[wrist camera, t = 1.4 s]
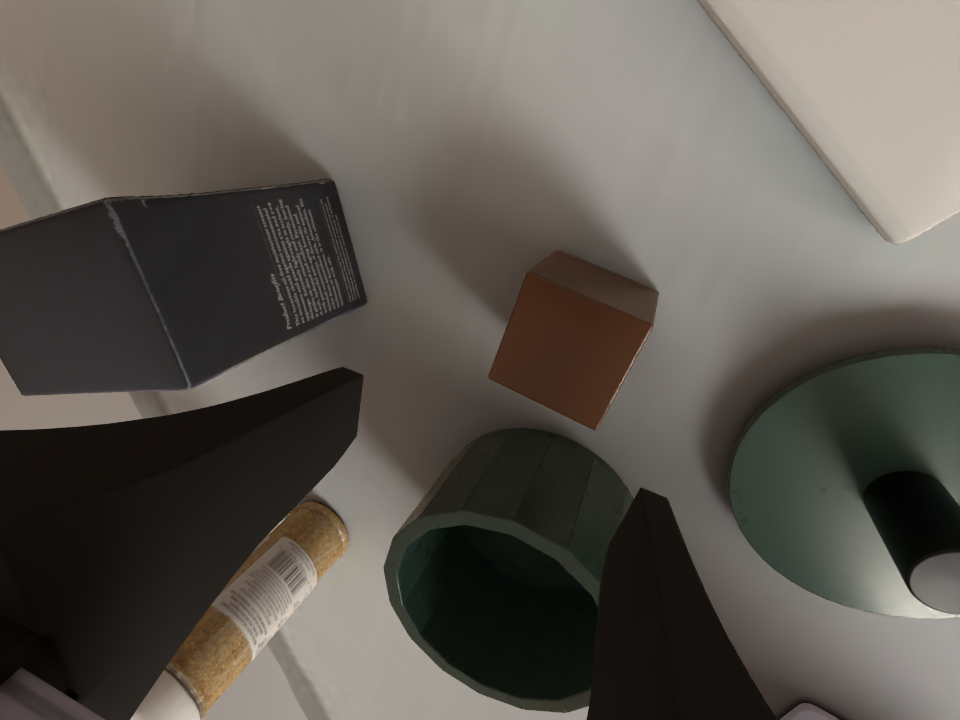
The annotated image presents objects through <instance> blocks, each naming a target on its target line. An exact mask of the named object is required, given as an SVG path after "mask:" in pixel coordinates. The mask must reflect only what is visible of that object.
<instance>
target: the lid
mask: <svg viewBox="0 0 960 720" xmlns="http://www.w3.org/2000/svg"><path fill="white" fill-rule="evenodd" d="M728 488H729V497H730V503H731V507H732V510H733V514H734V517H735V519H736V521H737V524H738V526H739V528H740V530H741V532H742V533H743V535H744V536H745V538H746V539H747V541H748V542H749V544H750V545H751V546H752V548H753V549H754V550H755V551H756V552H757V553H758V554H759V556H760V557H761V558H762V559H763V560H764V561H766V562H767V563H768V564H769V565H770V566H771V567H772V568H773V569H774V570H776V571H777V572H779V573H780V574H781V575H783V576H784V577H786V578H787V579H788V580H790V581H791V582H793V583H795V584H797V585H798V586H800V587H802V588H804V589H805V590H807V591H809V592H811V593H814V594H816V595H818V596H820V597H822V598H825V599H827V600H830V601H833V602H836V603H838V604H841V605H844V606H847V607H851V608H855V609H859V610H862V611H866V612H871V613H877V614H882V615H888V616H896V617H906V618H921V619H945V618H960V350H957V349H947V348H910V349H899V350H887V351H882V352H876V353H871V354H866V355H860V356H857V357H853V358H850V359H846V360H843V361H839V362H836V363H833V364H831V365H828V366H826V367H823V368H821V369H818V370H816V371H813V372H811V373H809V374H808V375H806V376H804V377H802V378H800V379H798V380H796V381H794V382H793V383H791V384H790V385H788V386H787V387H785V388H784V389H782V390H781V391H779V392H778V393H777V394H775V395H774V396H773V397H772V398H771V399H769V400H768V401H767V402H766V403H765V404H764V405H763V406H762V407H760V408H759V410H758V411H757V412H756V413H755V414H754V415H753V417H752V418H751V419H750V420H749V421H748V423H747V424H746V426H745V427H744V429H743V431H742V432H741V434H740V435H739V437H738V439H737V442H736V444H735V446H734V449H733V451H732V455H731V459H730V463H729V470H728Z"/></svg>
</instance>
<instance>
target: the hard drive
mask: <svg viewBox="0 0 960 720" xmlns="http://www.w3.org/2000/svg"><path fill="white" fill-rule="evenodd" d="M698 1H699V2H700V4H701V5H702V7H703V8H704V9H705V10H706V12H707V13H708V14H709V16H710V17H711V18H712V19H713V21H714V22H715V23H716V25H717V26H718V27H719V29H720V30H721V31H722V32H723V34H724V35H725V36H726V38H727V39H728V40H729V41H730V43H731V44H732V45H733V46H734V48H735V49H736V50H737V51H738V53H739V54H740V55H741V57H742V58H743V59H744V61H745V62H746V63H747V64H748V66H749V67H750V68H751V70H752V71H753V72H754V73H755V75H756V76H757V77H758V79H759V80H760V81H761V83H762V84H763V85H764V86H765V87H766V88H767V90H768V91H769V93H770V94H771V95H772V96H773V98H774V99H775V100H776V102H777V103H778V104H779V105H780V107H781V108H782V109H783V110H784V112H785V113H786V114H787V116H788V117H789V118H790V119H791V121H792V122H793V123H794V125H795V126H796V127H797V129H798V130H799V131H800V132H801V134H802V135H803V136H804V137H805V138H806V140H807V141H808V142H809V144H810V145H811V146H812V147H813V149H814V150H815V151H816V152H817V154H818V155H819V156H820V158H821V159H822V160H823V161H824V163H825V164H826V165H827V167H828V168H829V169H830V171H831V172H832V174H833V175H834V176H835V177H836V179H837V180H838V181H839V182H840V183H841V185H842V186H843V187H844V189H845V190H846V192H847V193H848V194H849V196H850V197H851V198H852V200H853V201H854V202H855V203H856V205H857V206H858V207H859V208H860V210H861V211H862V212H863V214H864V215H865V216H866V217H867V219H868V220H869V221H870V223H871V224H872V225H873V226H874V228H875V229H876V230H877V232H878V233H879V234H880V235H881V236H882V238H883V239H884V240H886V241H887V242H890V243H892V244H894V245H899V244H902V243H904V242H906V241H908V240H910V239H912V238H914V237H916V236H918V235H920V234H922V233H923V232H925V231H927V230H929V229H930V228H932V227H934V226H936V225H937V224H939V223H941V222H942V221H944V220H946V219H947V218H949V217H951V216H953V215H954V214H956V213H958V212H960V0H698Z"/></svg>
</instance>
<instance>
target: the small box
mask: <svg viewBox="0 0 960 720" xmlns="http://www.w3.org/2000/svg"><path fill="white" fill-rule="evenodd" d="M366 303H367V300H366V295H365V292H364V288H363V285H362V280H361V277H360V273H359V269H358V265H357V262H356V258H355V254H354V250H353V247H352V243H351V240H350V236H349V232H348V229H347V225H346V222H345V218H344V214H343V211H342V207H341V203H340V199H339V196H338V192H337V188H336V185H335V183H334V181H333V180H331V179H322V180H316V181H309V182H302V183H294V184H284V185H277V186H266V187H258V188H244V189H234V190H223V191H216V192H205V193H191V194H179V195H166V196H163V195H160V196H139V197H135V196H127V197H123V196H122V197H108V198H103V199H100V200H97V201H93V202H90V203H86V204H83V205H80V206H77V207H73V208H70V209H66V210H63V211H60V212H57V213H55V214H50V215H47V216H44V217H40V218H37V219H34V220H31V221H27V222H23V223H20V224H17V225H14V226H11V227H8V228H5V229H1V230H0V359H1V360H2V362H3V364H4V366H5V367H6V369H7V370H8V372H9V374H10V376H11V378H12V379H13V380H14V382H15V384H16V386H17V388H18V389H19V390H20V392H21V394H22V395H24V396H30V395H52V394H53V395H54V394H77V393H100V392H101V393H102V392H139V391H181V390H190V389H192V388H194V387H196V386H198V385H200V384H202V383H204V382H206V381H208V380H211V379H213V378H215V377H217V376H219V375H221V374H223V373H224V372H226V371H229V370H231V369H233V368H235V367H237V366H239V365H241V364H243V363H245V362H247V361H249V360H251V359H253V358H255V357H257V356H259V355H261V354H264V353H266V352H268V351H270V350H272V349H274V348H276V347H278V346H280V345H282V344H284V343H286V342H288V341H290V340H292V339H294V338H296V337H298V336H300V335H303V334H305V333H307V332H309V331H311V330H313V329H315V328H317V327H319V326H321V325H323V324H325V323H327V322H329V321H331V320H334V319H336V318H338V317H340V316H342V315H345V314H347V313H349V312H351V311H353V310H355V309H357V308H359V307H361V306H363V305H365V304H366Z"/></svg>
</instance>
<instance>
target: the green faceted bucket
mask: <svg viewBox="0 0 960 720" xmlns="http://www.w3.org/2000/svg"><path fill="white" fill-rule="evenodd" d="M632 502H633V498H632V496H631V494H630V492H629V490H628V489H627V487H626V486H625V484H624V483H623V481H622V480H621V478H620V477H619V476H618V475H617V474H616V473H615V472H614V471H613V469H612V468H611V467H610V466H609V465H607V464H606V463H605V462H604V461H603V460H602V459H601V458H600V457H598V456H597V455H595V454H594V453H593V452H591V451H590V450H588V449H587V448H585V447H583V446H581V445H580V444H578V443H576V442H574V441H572V440H569V439H567V438H565V437H562V436H560V435H556V434H553V433H550V432H546V431H541V430H535V429H524V428H517V429H505V430H499V431H495V432H492V433H489V434H486V435H484V436H482V437H480V438H478V439H476V440H474V441H473V442H471V443H470V444H469V445H467V446H466V447H465V448H464V449H463V450H462V451H461V452H460V453H459V455H458V456H456V457H455V458H454V459H453V460H452V461H451V462H450V464H449V465H448V466H447V468H446V469H445V470H444V472H443V473H442V474H441V476H440V477H439V478H438V479H437V481H436V482H435V483H434V485H433V486H432V487H431V489H430V490H429V491H428V493H427V494H426V495H425V497H424V498H423V499H422V500H421V502H420V503H419V504H418V506H417V507H416V508H415V510H414V511H413V512H412V514H411V515H410V516H409V518H408V519H407V520H406V521H405V523H404V524H403V525H402V527H401V528H400V529H399V531H398V532H397V533H396V535H395V536H394V537H393V540H392V543H391V546H390V549H389V552H388V555H387V558H386V562H385V565H384V573H385V579H386V584H387V589H388V595H389V600H390V602H391V605H392V607H393V609H394V611H395V612H396V614H397V616H398V617H399V619H400V621H401V623H402V624H403V626H404V628H405V630H406V631H407V633H408V635H409V636H410V637H411V639H412V640H413V641H414V642H415V643H416V644H417V645H418V646H419V647H420V648H421V649H422V650H423V651H424V652H425V653H426V654H427V655H428V656H429V657H430V658H431V659H432V660H433V661H434V662H435V663H436V664H437V665H438V666H439V667H440V668H442V670H443V671H445V672H446V673H448V674H450V675H451V676H453V677H454V678H456V679H457V680H459V681H461V682H462V683H464V684H465V685H467V686H468V687H470V688H471V689H473V690H475V691H476V692H478V693H481V694H482V695H485V696H487V697H490V698H493V699H496V700H498V701H501V702H504V703H507V704H510V705H512V706H515V707H518V708H521V709H525V710H536V711H549V712H562V713H566V712H571V711H574V710H577V709H581V708H584V707H587V706H589V703H590V695H591V686H592V674H593V662H594V650H595V637H596V625H597V613H598V602H599V591H600V583H601V578H602V573H603V568H604V563H605V559H606V554H607V550H608V545H609V543H610V541H611V540H612V538H613V536H614V534H615V532H616V531H617V529H618V527H619V525H620V523H621V522H622V520H623V518H624V516H625V515H626V513H627V511H628V509H629V507H630V506H631V504H632Z"/></svg>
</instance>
